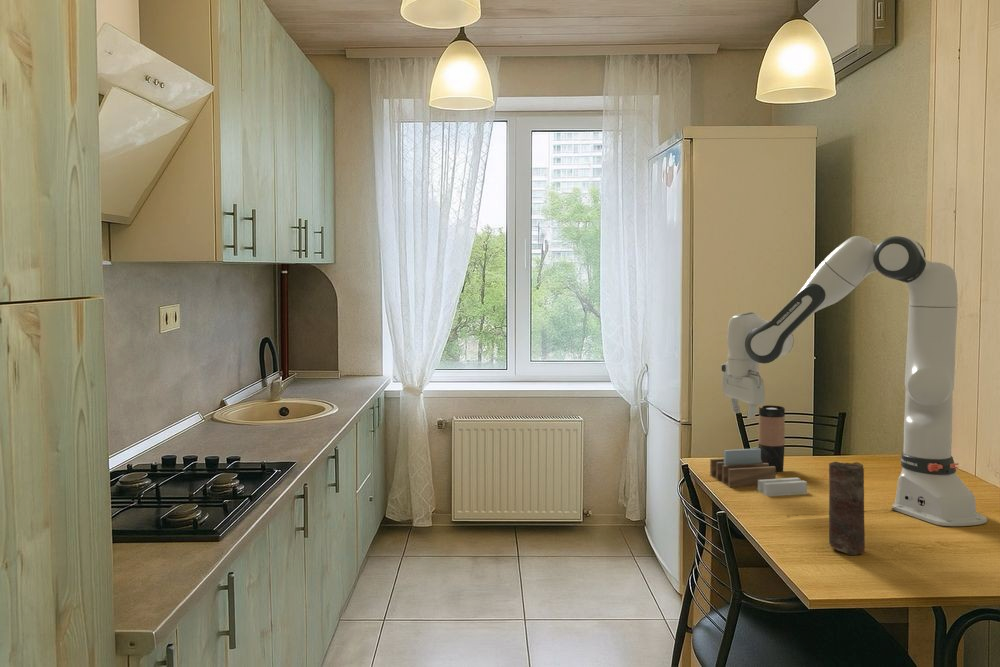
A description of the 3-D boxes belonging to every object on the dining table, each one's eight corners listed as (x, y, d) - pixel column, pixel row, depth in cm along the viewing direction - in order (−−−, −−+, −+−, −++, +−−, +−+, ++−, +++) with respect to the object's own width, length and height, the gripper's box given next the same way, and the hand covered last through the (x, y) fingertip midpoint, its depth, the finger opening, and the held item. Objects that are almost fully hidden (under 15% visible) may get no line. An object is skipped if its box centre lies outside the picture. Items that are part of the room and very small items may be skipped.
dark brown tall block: (822, 549, 182) (823, 462, 180) (836, 541, 187) (837, 456, 186) (856, 558, 177) (858, 468, 175) (869, 549, 182) (871, 462, 180)
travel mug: (787, 474, 248) (788, 409, 246) (762, 474, 248) (763, 409, 246) (779, 467, 255) (780, 405, 254) (755, 468, 256) (755, 405, 254)
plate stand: (808, 497, 223) (808, 482, 223) (768, 499, 221) (768, 485, 221) (795, 490, 230) (795, 476, 230) (755, 492, 228) (756, 478, 228)
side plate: (760, 479, 239) (760, 449, 238) (725, 481, 237) (725, 451, 236) (758, 478, 240) (758, 448, 239) (723, 480, 238) (723, 450, 237)
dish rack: (776, 487, 233) (776, 467, 232) (730, 490, 230) (730, 470, 230) (753, 475, 246) (753, 456, 246) (709, 478, 244) (709, 458, 244)
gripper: (770, 371, 226) (771, 420, 227) (737, 364, 246) (737, 409, 247) (749, 373, 225) (750, 422, 226) (718, 365, 245) (718, 410, 246)
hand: (743, 415), depth 237 cm, fingers open, 8 cm apart
